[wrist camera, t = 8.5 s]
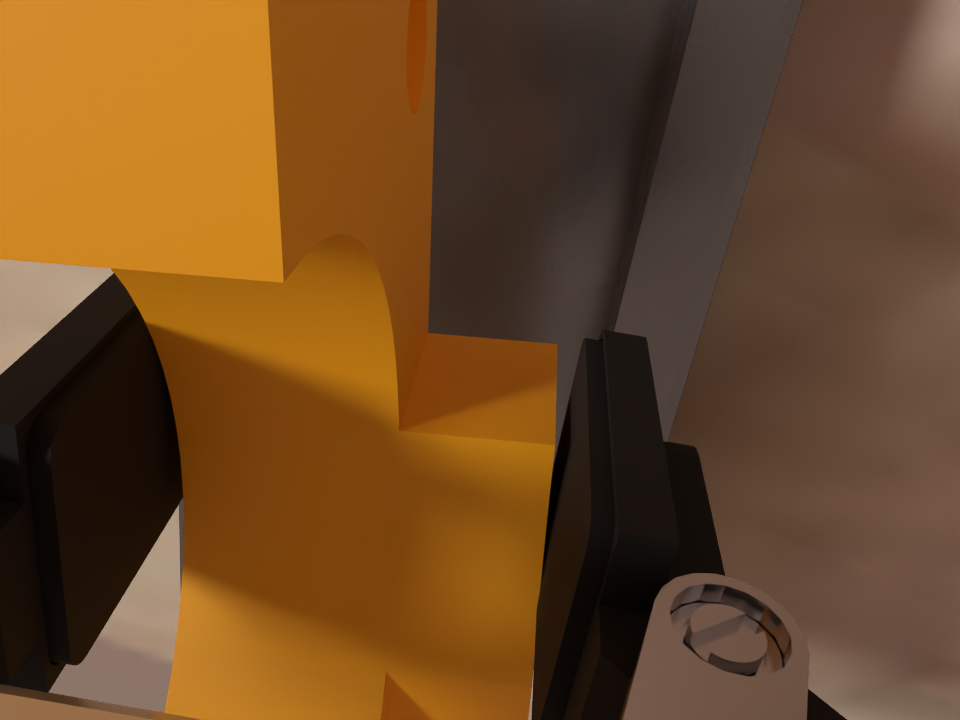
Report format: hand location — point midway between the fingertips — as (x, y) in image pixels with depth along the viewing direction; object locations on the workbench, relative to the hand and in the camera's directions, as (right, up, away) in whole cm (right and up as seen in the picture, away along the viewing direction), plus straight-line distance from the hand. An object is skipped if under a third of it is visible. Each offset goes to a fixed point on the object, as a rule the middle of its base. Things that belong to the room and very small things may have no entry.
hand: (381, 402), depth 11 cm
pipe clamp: (0, +1, +1) cm, 1 cm away
